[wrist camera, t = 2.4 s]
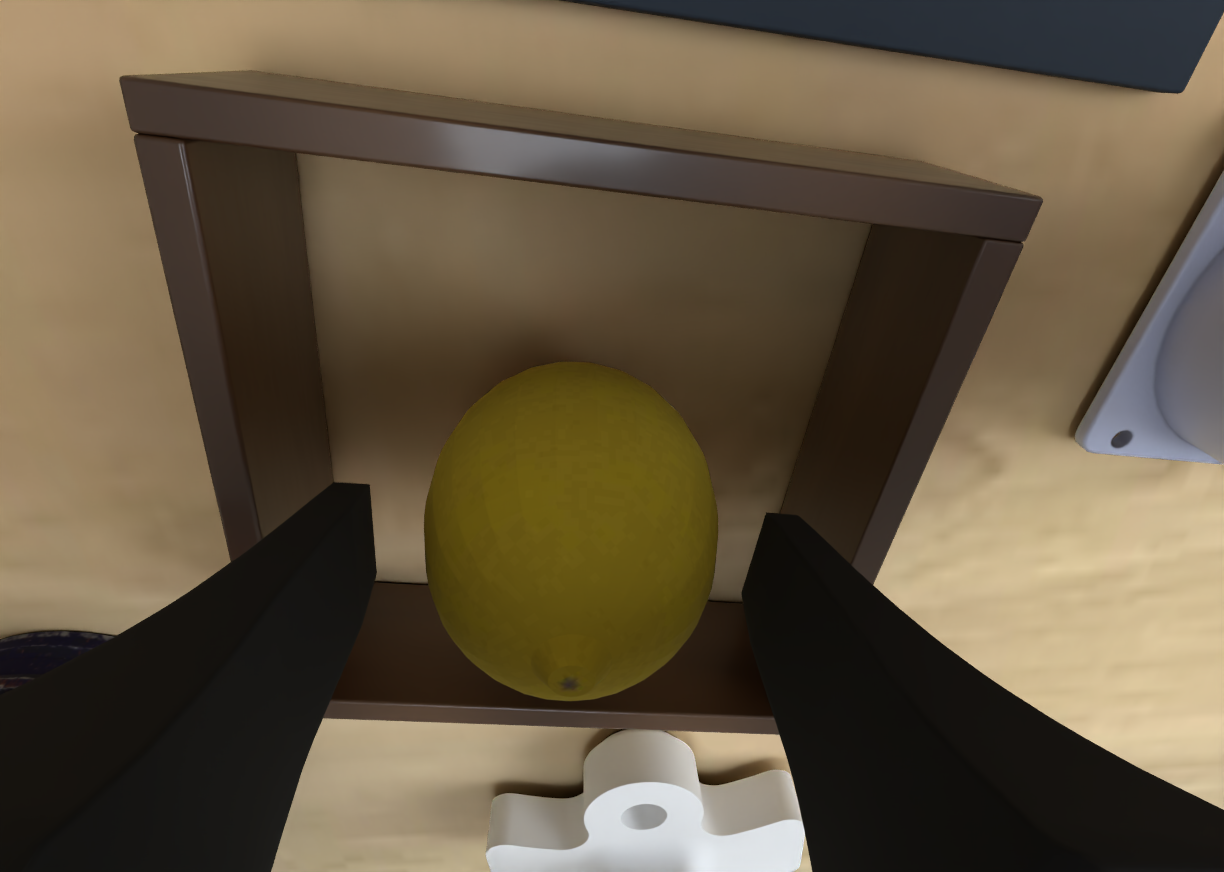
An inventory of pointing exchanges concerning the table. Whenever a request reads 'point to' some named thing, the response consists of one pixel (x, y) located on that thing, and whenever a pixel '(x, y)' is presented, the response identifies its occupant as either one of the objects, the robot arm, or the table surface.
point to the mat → (989, 31)
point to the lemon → (570, 532)
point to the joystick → (650, 817)
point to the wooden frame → (577, 157)
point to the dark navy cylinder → (41, 654)
